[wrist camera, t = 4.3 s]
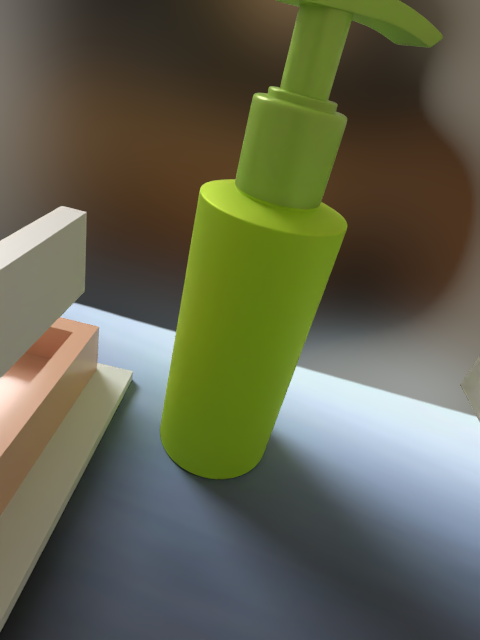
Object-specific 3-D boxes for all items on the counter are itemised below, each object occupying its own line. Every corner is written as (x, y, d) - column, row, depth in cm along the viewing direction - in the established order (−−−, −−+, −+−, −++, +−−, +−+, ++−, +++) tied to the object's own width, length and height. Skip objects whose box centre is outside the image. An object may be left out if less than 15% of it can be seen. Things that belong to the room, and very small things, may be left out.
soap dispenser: (298, 469, 22) (500, 19, 12) (170, 487, 20) (285, -67, 9) (260, 392, 27) (383, 18, 16) (152, 399, 24) (216, -40, 14)
